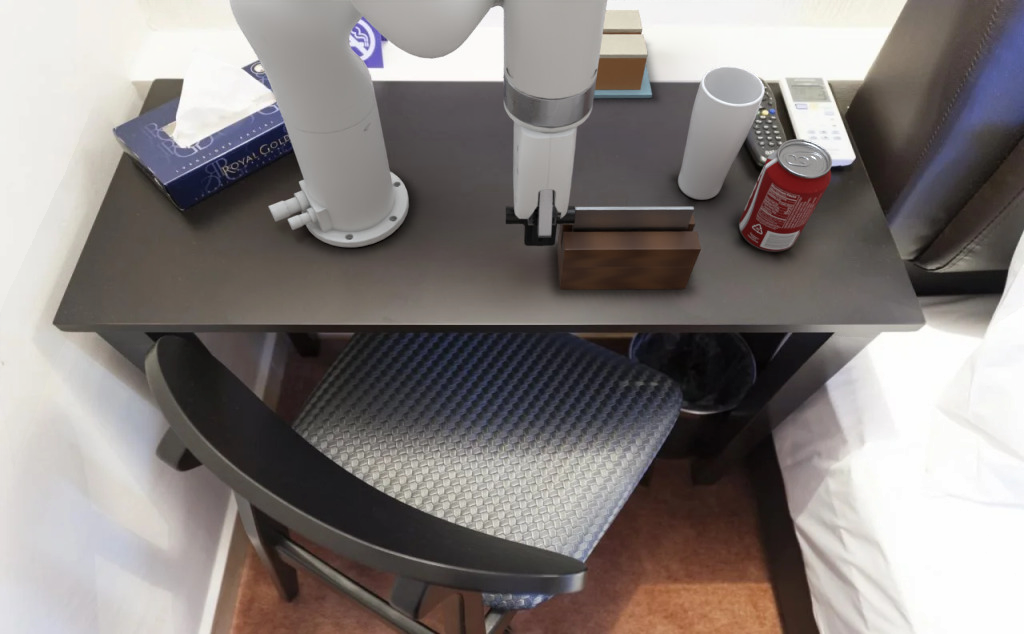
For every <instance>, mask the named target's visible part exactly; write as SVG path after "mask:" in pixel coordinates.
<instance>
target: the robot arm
mask: <svg viewBox="0 0 1024 634" xmlns="http://www.w3.org/2000/svg"><path fill="white" fill-rule="evenodd" d="M607 4H608V0H229V7H230V10H231V12H232V15H233V17H234V19H235V22H236V24H237V25H238V28H239V29H240V31H241V32H242V34H243V36H244V37H245V39H246V41H247V42H248V44H249V46H250V48H251V49H252V50H253V52H254V54H255V56H256V58H257V60H258V61H259V63H260V65H261V67H262V69H263V71H264V73H265V76H266V78H267V81H268V83H269V85H270V87H271V90H272V93H273V96H274V99H275V101H276V105H277V108H278V110H279V113H280V115H281V117H282V120H283V123H284V126H285V129H286V131H287V134H288V137H289V140H290V143H291V146H292V149H293V152H294V154H295V157H296V161H297V163H298V166H299V169H300V172H301V175H302V178H303V179H301V180H300V181H298V184H299V187H300V189H301V190H300V191H297V192H294V193H293V196H294V197H291V198H289V199H286V200H280V201H278V202H276V203H273V204H270V205H268V210H269V211H270V214H271V216H272V218H273V219H274V222H275V223H277V222H279V221H282V220H284V219H287V222H288V224H289V226H290V228H291V230H292V231H294V230H297V229H300V228H302V227H304V226H306V228H307V229H308V231H309V233H311V235H313V236H314V237H315V238H316V239H318V240H320V241H321V242H323V243H326V244H328V245H330V246H335V247H340V248H359V247H365V246H368V245H369V246H370V245H373V244H375V243H377V242H380V241H382V240H385V239H386V238H388V237H389V236H391V235H392V234H393V233H395V232H396V230H398V229H399V228H400V226H401V225H402V224H403V223H404V221H405V219H406V217H407V216H408V212H409V208H410V201H409V198H410V197H409V194H408V190H407V188H406V186H405V183H404V182H403V181H402V179H401V178H400V177H398V175H397V174H395V173H394V172H392V171H391V170H390V169H391V168H390V165H389V160H388V153H387V148H386V143H385V139H384V134H383V128H382V124H381V123H382V122H381V118H380V113H379V108H378V102H377V96H376V92H375V88H374V83H373V78H372V74H371V73H370V70H369V67H368V66H367V64H366V62H365V61H364V60H363V58H362V57H361V56H359V54H358V53H356V52H355V51H354V50H353V48H352V47H351V43H350V36H351V34H352V31H353V29H354V28H355V27H356V25H357V24H358V23H359V22H360V21H361V20H362V19H363V18H364V19H365V20H366V22H368V23H369V24H370V25H371V26H372V28H374V29H375V30H376V31H377V32H378V33H379V34H380V35H381V36H383V38H384V39H386V40H387V41H388V42H390V44H393V45H394V46H395V47H397V48H398V49H399V50H401V51H403V52H404V53H407V54H409V55H412V56H415V57H418V58H421V59H438V58H443V57H446V56H447V55H450V54H452V53H454V52H455V51H457V50H458V49H459V48H460V47H461V46H462V45H463V44H464V43H465V42H466V41H467V40H468V39H469V38H470V36H471V35H472V34H473V32H474V31H475V30H476V28H477V27H478V26H479V24H480V23H481V22H482V20H483V19H484V18H485V16H487V14H488V13H489V12H490V10H491V9H493V8H495V7H501V8H502V10H503V108H504V110H505V113H506V114H507V116H508V117H509V118H510V119H511V120H512V121H513V138H512V139H513V145H512V147H513V149H512V151H513V152H512V180H513V181H512V183H513V185H512V186H513V188H512V189H513V206H514V211H515V215H516V216H517V217H518V218H519V219H525V224H523V226H524V233H523V235H524V236H523V244H524V245H525V246H526V247H553V246H554V245H555V244H556V238H557V229H558V224H557V216H560V218H562V217H564V216H565V215H566V213H567V209H568V206H569V202H570V197H571V190H572V189H571V188H572V181H573V174H574V173H573V172H574V163H575V156H576V155H575V153H576V144H577V133H578V127H579V126H581V125H582V124H584V123H585V122H586V121H587V120H588V119H589V117H590V115H591V114H592V111H593V107H594V106H593V105H594V99H595V98H594V92H595V85H596V78H597V70H598V63H599V56H600V49H601V42H602V35H603V28H604V21H605V13H606V10H607ZM535 209H538V213H534V210H535ZM300 212H301V214H297V213H300ZM295 214H297V215H295ZM292 215H294V216H292ZM291 216H292V217H291Z"/></svg>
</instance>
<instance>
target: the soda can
mask: <svg viewBox="0 0 1024 634" xmlns="http://www.w3.org/2000/svg"><path fill="white" fill-rule="evenodd" d="M832 167H833V159H832V156H831V154H830V152H828V150H827V149H826V148H824V147H823V146H822V145H820V144H818V143H817V142H814V141H812V140H809V139H802V138H794V139H789V140H786V141H784V142H782V143H781V144H780V145H779V147H778V148H777V149H775V150H774V151H773V152H771V153H770V154H769V155H768V156H767V158H766V160H765V162H764V165H763V167H762V169H761V171H760V174H759V176H758V178H757V180H756V182H755V185H754V187H753V189H752V191H751V194H750V196H749V198H748V200H747V202H746V205H745V207H744V210H743V212H742V214H741V216H740V218H739V222H738V228H739V232H740V234H741V236H742V238H743V239H744V240H745V241H746V242H747V243H748V244H749V245H751V246H753V247H754V248H756V249H759V250H761V251H764V252H770V253H779V252H783V251H787V250H789V249H790V248H792V247H793V246H794V245H795V244H796V242H797V241H798V239H799V237H800V236H801V234H802V232H803V230H804V228H805V227H806V225H807V223H808V221H809V220H810V218H811V216H812V214H813V213H814V211H815V210H816V208H817V206H818V204H819V202H820V201H821V199H822V198H823V195H824V194H825V192H826V190H827V188H828V187H829V185H830V183H831V180H832V172H831V168H832Z"/></svg>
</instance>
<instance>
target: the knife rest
mask: <svg viewBox="0 0 1024 634" xmlns="http://www.w3.org/2000/svg"><path fill="white" fill-rule="evenodd" d="M695 225H696V220H695V216H694V212H693V213H692V216H691V219H690V222H689V225H688V228H687V231H675V232H572V227H573V224H559V228H558V237H557V246H556V251H557V253H556V255H557V267H558V283H559V290H564V291H565V290H686V288H687V286H688V283H689V280H690V278H691V276H692V273H693V270H694V268H695V265H696V263H697V260H698V258H699V255H700V252H701V251H702V247H701V243H700V239H699V234H698V231H695V230H694V229H695Z"/></svg>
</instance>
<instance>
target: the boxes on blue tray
mask: <svg viewBox="0 0 1024 634" xmlns="http://www.w3.org/2000/svg"><path fill="white" fill-rule="evenodd" d="M648 55H649V54H648V50H647V44H646V39H645V34H643V25H642V20H641V15H640V11H639V10H638V9H606V13H605V21H604V28H603V35H602V42H601V49H600V56H599V63H598V70H597V78H596V85H595V92H594V99H652V97H653V92H652V87H651V83H650V77H649V73H648V67H647V59H648Z"/></svg>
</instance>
